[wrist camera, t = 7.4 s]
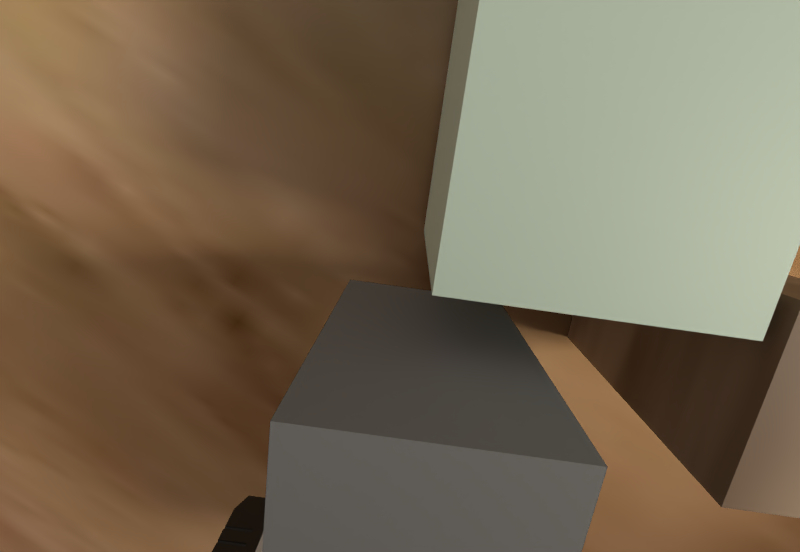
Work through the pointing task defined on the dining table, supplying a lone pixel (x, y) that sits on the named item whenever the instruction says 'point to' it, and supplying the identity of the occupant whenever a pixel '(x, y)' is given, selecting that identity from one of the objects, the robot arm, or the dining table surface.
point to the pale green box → (620, 160)
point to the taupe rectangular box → (714, 400)
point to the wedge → (425, 436)
